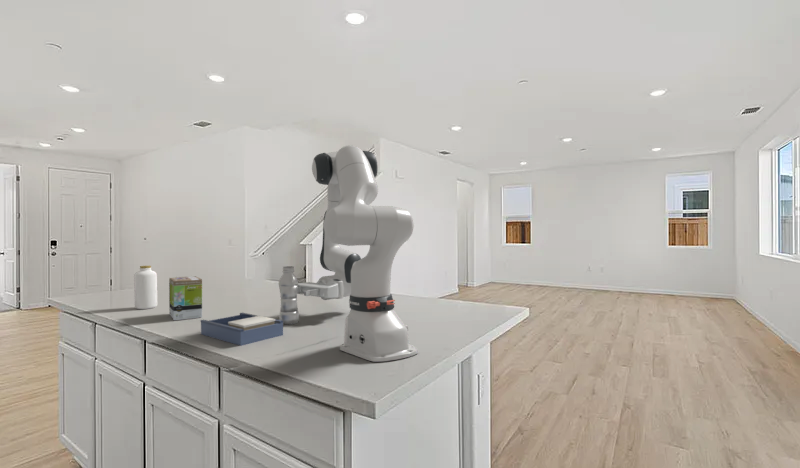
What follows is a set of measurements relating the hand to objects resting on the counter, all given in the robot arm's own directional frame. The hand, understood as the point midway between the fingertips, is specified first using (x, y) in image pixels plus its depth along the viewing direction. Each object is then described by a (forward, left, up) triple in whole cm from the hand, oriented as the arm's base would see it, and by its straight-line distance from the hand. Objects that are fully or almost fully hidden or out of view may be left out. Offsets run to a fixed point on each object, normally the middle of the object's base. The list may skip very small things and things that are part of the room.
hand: (296, 292), depth 145 cm
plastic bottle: (-1, +3, -11) cm, 12 cm away
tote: (-9, +20, -11) cm, 24 cm away
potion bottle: (+66, +45, -11) cm, 81 cm away
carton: (-14, +18, -10) cm, 25 cm away
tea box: (+37, +32, -11) cm, 50 cm away
